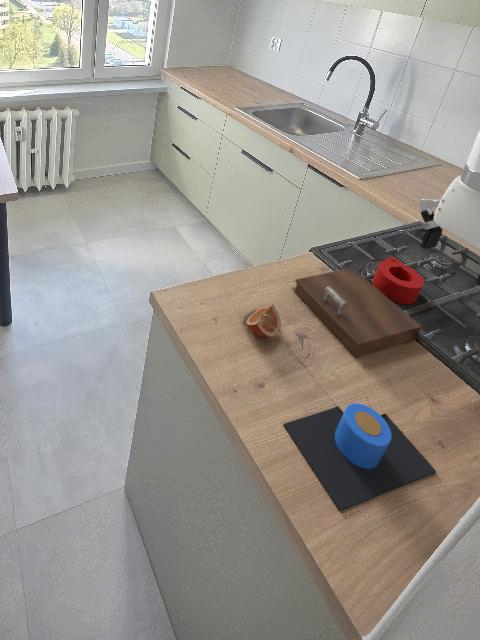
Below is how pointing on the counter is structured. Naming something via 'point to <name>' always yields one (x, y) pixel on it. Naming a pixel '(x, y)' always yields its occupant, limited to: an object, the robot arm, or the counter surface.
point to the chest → (345, 339)
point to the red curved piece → (397, 281)
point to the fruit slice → (265, 322)
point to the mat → (344, 476)
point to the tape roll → (362, 435)
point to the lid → (357, 306)
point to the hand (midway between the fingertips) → (454, 264)
